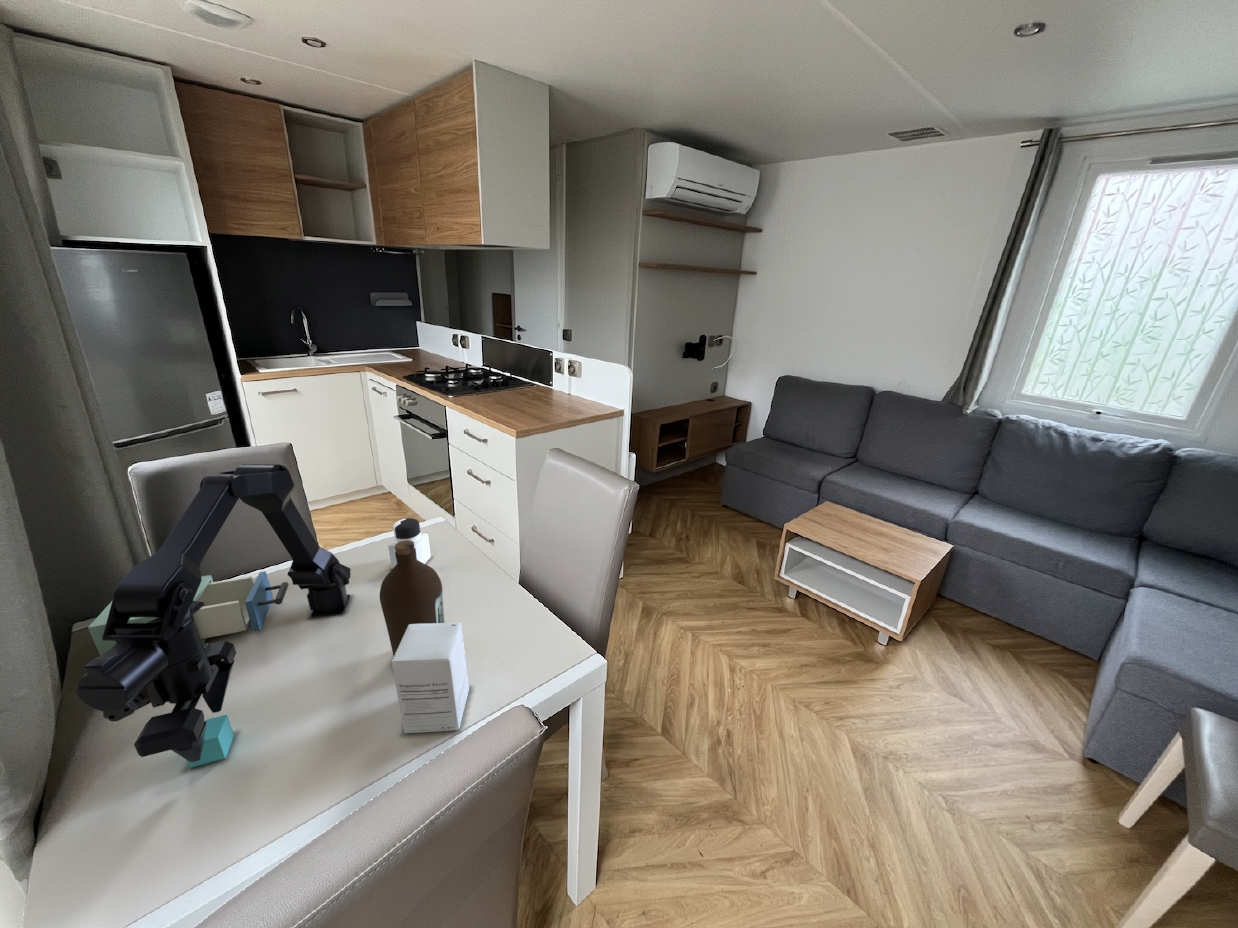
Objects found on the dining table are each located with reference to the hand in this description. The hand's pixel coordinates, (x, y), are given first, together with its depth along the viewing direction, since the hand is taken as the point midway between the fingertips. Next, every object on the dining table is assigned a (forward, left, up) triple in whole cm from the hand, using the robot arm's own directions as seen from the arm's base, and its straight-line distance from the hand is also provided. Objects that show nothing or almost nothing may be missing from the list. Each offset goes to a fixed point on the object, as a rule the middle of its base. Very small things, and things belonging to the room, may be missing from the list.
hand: (207, 734), depth 75 cm
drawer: (+9, -33, -2) cm, 34 cm away
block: (0, 0, -3) cm, 3 cm away
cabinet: (+21, -32, -3) cm, 38 cm away
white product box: (-33, 0, -4) cm, 33 cm away
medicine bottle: (-23, -50, -4) cm, 55 cm away
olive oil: (-29, -14, -4) cm, 32 cm away
